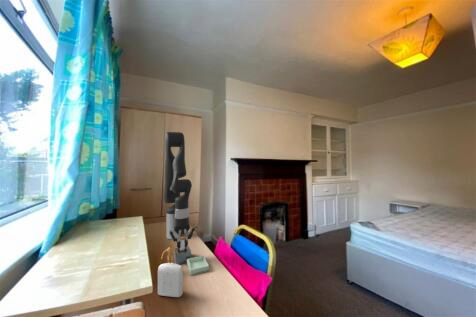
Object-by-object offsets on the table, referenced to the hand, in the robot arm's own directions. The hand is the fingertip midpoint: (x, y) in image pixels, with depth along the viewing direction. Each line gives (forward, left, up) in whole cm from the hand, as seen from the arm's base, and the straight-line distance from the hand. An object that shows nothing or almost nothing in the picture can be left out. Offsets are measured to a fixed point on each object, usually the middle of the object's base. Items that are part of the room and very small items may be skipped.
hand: (182, 247), depth 108 cm
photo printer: (+26, -8, -7) cm, 28 cm away
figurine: (+10, -7, -7) cm, 14 cm away
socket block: (0, 0, -7) cm, 7 cm away
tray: (+11, +6, -7) cm, 14 cm away
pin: (0, 0, -7) cm, 7 cm away
